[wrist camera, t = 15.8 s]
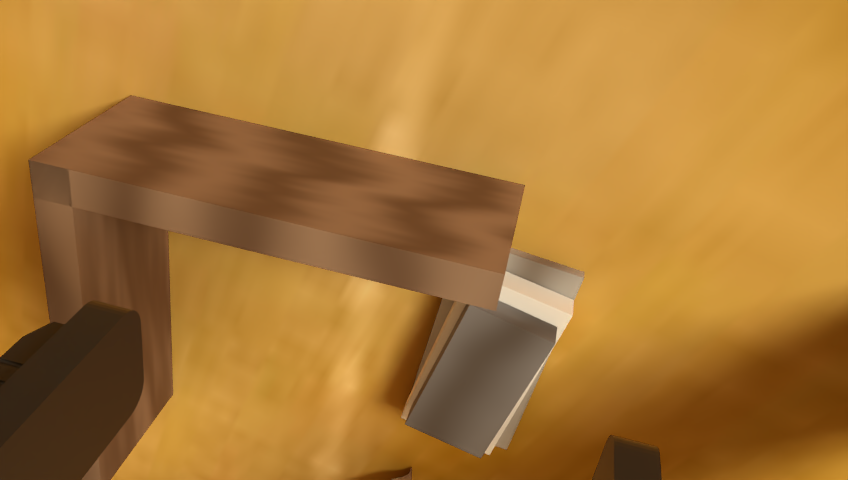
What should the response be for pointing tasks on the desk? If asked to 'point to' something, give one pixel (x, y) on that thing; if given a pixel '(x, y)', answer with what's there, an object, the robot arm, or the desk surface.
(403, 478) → the wood plank
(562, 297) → the white offcut
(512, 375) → the grey rectangular block
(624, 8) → the desk surface
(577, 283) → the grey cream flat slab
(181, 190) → the walnut rack
